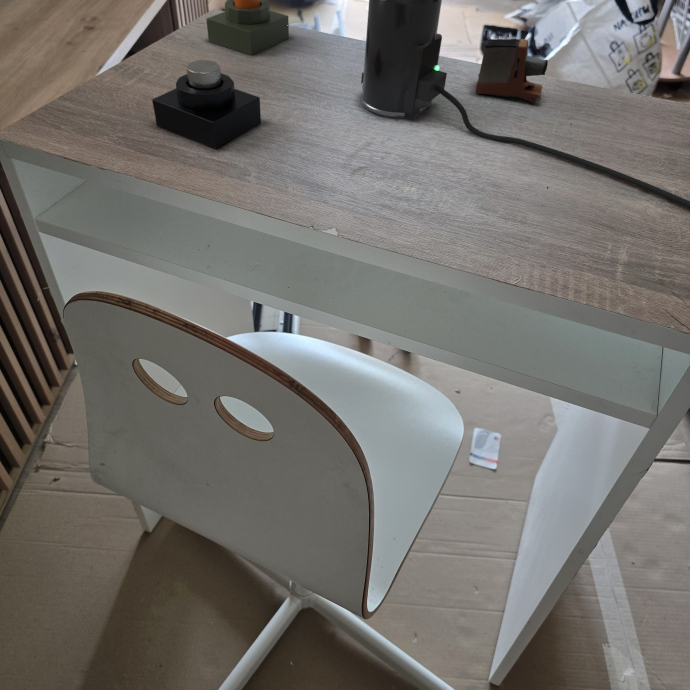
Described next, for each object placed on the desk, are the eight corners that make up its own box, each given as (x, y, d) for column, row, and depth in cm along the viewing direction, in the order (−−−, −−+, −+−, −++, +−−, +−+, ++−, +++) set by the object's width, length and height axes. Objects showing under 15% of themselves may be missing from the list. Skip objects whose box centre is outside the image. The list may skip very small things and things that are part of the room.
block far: (247, 25, 105) (244, -10, 101) (288, 38, 102) (288, 2, 98) (208, 41, 99) (204, 4, 95) (251, 55, 96) (249, 17, 92)
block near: (261, 123, 80) (259, 81, 76) (216, 149, 74) (211, 106, 70) (203, 102, 83) (198, 61, 79) (156, 125, 78) (149, 83, 74)
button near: (228, 84, 76) (226, 65, 74) (206, 95, 73) (204, 75, 71) (203, 76, 77) (201, 57, 75) (182, 86, 74) (179, 67, 73)
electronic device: (538, 105, 88) (553, 52, 83) (473, 95, 90) (484, 41, 84) (540, 94, 91) (555, 41, 86) (477, 84, 93) (487, 31, 87)
